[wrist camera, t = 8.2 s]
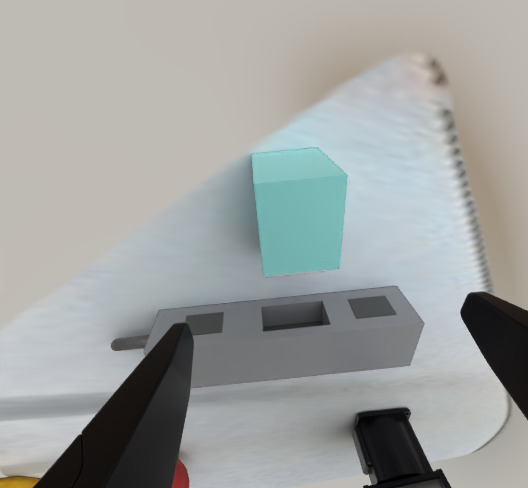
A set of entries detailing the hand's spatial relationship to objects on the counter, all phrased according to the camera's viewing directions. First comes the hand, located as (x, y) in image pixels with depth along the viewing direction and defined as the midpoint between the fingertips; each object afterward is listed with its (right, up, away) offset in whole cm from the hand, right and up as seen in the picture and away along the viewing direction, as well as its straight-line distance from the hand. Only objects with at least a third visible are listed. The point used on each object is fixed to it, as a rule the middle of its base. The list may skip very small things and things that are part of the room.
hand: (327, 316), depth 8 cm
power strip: (-3, -5, +15) cm, 16 cm away
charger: (-1, +5, +9) cm, 11 cm away
